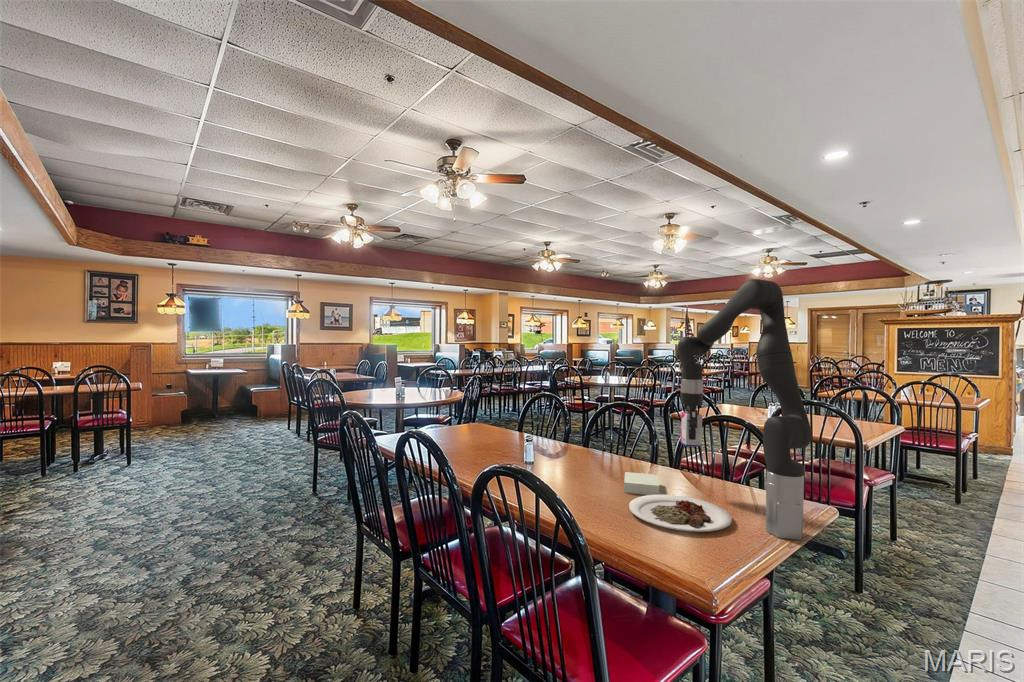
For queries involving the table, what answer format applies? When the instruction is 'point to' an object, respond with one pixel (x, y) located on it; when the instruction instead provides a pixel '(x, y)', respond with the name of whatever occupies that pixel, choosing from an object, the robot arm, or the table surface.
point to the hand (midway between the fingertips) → (690, 437)
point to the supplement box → (685, 431)
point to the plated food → (680, 513)
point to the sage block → (641, 483)
